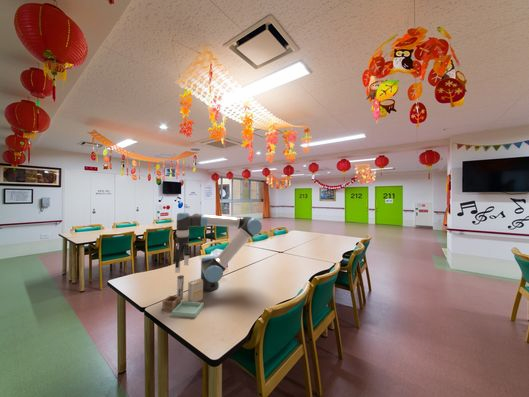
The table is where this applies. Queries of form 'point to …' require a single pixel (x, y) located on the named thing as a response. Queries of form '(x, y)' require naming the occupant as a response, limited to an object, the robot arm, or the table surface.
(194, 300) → the supplement box
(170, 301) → the brown square holder
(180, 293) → the cylinder
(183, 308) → the tray
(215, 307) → the table surface
